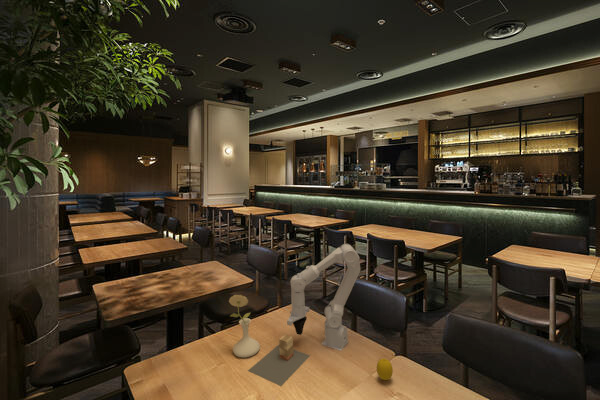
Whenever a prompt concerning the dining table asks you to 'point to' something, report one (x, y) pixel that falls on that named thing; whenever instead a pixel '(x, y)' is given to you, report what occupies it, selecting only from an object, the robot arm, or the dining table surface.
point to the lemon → (384, 369)
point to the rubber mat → (278, 366)
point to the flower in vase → (246, 344)
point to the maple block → (286, 347)
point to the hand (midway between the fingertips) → (299, 333)
